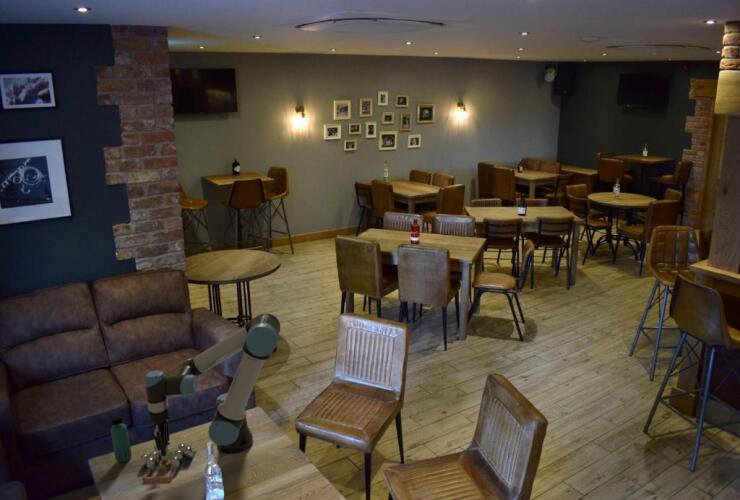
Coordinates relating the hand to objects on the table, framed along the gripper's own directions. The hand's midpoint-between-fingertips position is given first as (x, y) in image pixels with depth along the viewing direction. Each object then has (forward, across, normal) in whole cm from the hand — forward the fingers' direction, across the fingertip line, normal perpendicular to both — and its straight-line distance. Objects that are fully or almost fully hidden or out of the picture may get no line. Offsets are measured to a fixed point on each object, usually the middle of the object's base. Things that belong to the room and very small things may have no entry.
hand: (165, 460), depth 238 cm
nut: (+2, +3, +1) cm, 3 cm away
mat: (+3, -2, 0) cm, 3 cm away
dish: (+3, +8, 0) cm, 8 cm away
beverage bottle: (+3, -5, -20) cm, 21 cm away
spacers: (+2, -1, 0) cm, 2 cm away
